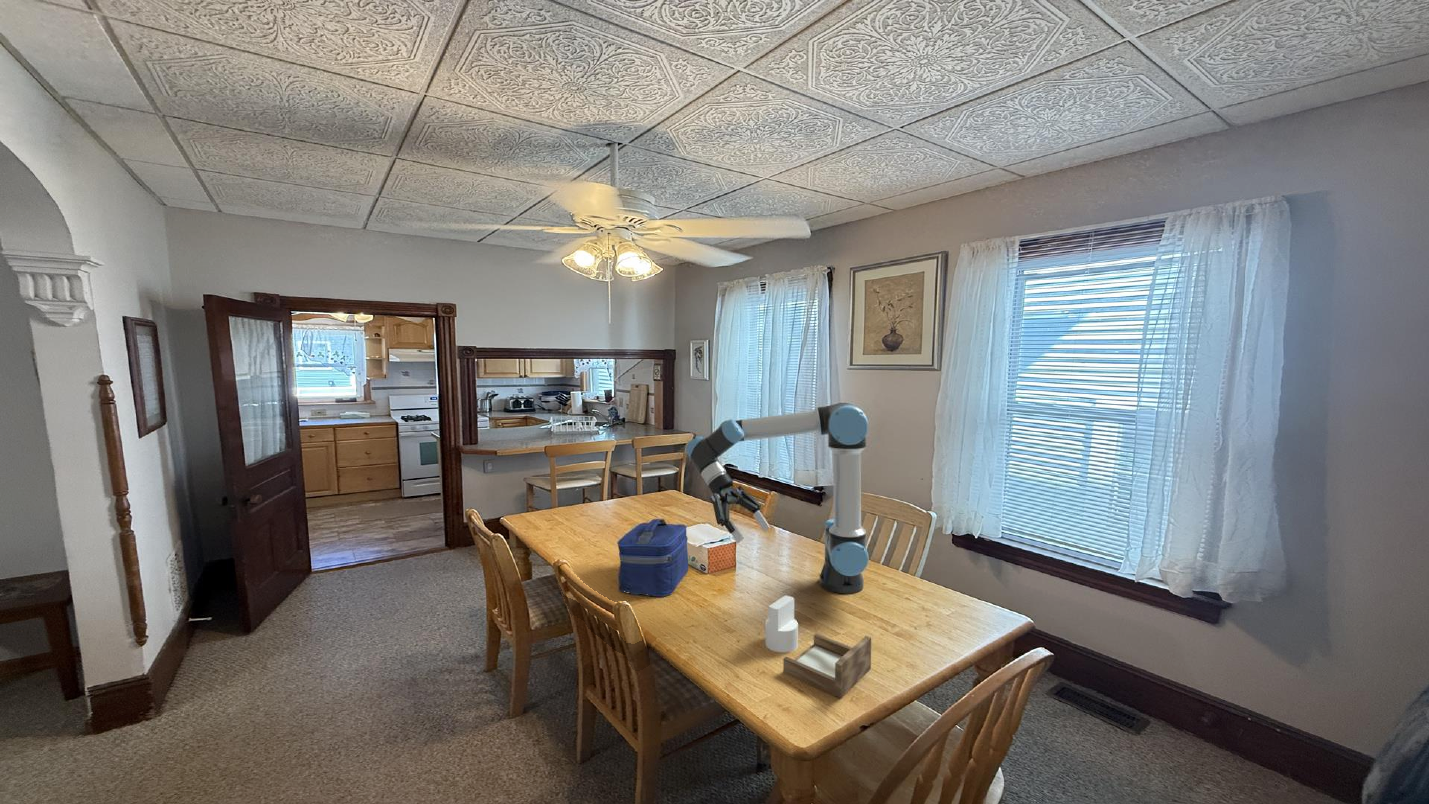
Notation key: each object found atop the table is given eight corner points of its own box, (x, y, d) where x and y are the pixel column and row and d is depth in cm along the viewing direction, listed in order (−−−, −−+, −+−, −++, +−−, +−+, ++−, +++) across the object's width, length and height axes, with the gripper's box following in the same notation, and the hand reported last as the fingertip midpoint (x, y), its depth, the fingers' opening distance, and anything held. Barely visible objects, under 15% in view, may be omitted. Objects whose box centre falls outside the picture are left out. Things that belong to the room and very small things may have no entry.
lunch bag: (642, 560, 208) (641, 510, 206) (694, 564, 204) (693, 513, 202) (612, 595, 177) (611, 536, 176) (672, 600, 173) (671, 539, 172)
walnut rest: (816, 646, 144) (816, 617, 144) (870, 668, 134) (871, 637, 133) (783, 672, 132) (783, 641, 132) (840, 698, 122) (841, 665, 121)
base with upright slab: (776, 632, 152) (776, 592, 151) (803, 642, 146) (804, 601, 146) (759, 645, 145) (759, 603, 144) (787, 656, 140) (787, 613, 139)
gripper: (735, 479, 180) (770, 531, 171) (684, 493, 161) (721, 552, 152) (747, 466, 176) (784, 519, 167) (697, 479, 157) (735, 538, 149)
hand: (754, 535), depth 160 cm, fingers open, 13 cm apart
